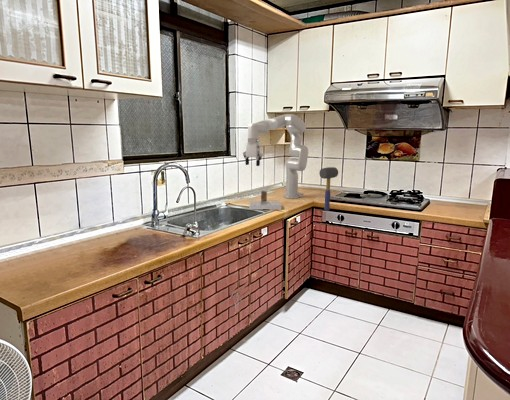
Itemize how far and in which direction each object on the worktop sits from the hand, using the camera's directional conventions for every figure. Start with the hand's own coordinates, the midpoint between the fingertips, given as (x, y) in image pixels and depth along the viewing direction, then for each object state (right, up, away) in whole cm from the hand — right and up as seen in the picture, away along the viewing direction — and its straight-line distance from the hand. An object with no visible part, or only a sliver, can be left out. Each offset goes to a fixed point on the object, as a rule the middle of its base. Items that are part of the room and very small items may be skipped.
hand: (252, 165), depth 259 cm
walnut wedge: (+8, -27, +10) cm, 30 cm away
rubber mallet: (+51, -33, -12) cm, 62 cm away
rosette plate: (+9, -30, -3) cm, 32 cm away
